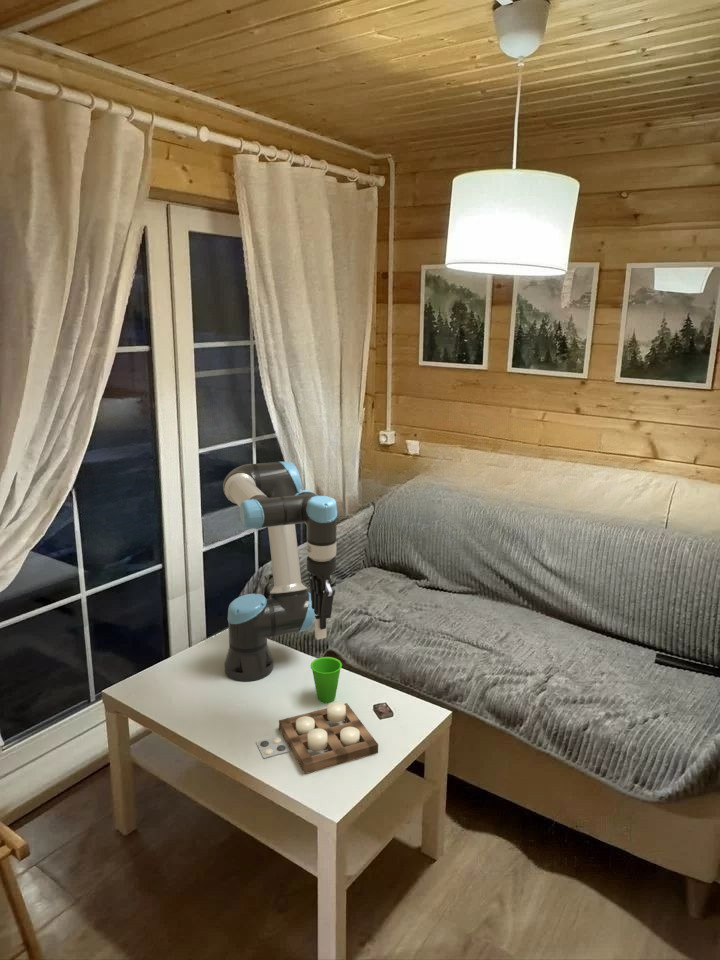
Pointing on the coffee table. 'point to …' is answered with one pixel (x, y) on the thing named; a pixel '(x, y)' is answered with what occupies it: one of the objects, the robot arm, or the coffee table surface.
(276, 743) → the card
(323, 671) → the cup
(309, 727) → the button back right
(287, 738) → the board
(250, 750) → the coffee table surface
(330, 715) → the button back left
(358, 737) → the button front left
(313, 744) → the button front right
